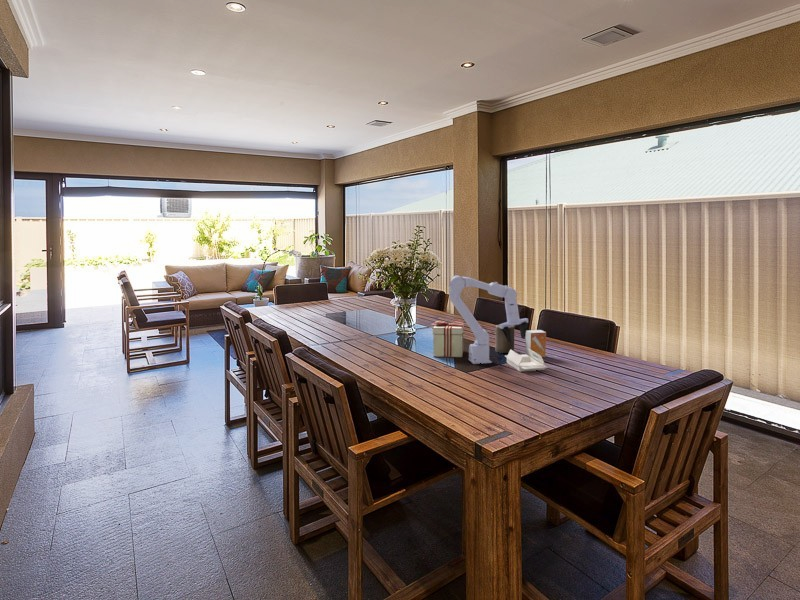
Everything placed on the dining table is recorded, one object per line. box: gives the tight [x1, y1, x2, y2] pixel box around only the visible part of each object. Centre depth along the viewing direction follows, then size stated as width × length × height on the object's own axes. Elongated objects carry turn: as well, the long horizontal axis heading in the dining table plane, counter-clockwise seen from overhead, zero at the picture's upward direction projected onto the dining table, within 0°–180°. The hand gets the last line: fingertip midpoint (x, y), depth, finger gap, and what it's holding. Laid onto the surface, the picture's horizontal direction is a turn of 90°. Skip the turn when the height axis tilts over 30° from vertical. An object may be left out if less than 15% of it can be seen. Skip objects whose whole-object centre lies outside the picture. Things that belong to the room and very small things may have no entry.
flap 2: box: [528, 349, 545, 365], centre depth 220 cm, size 4×14×1 cm
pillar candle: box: [494, 324, 515, 354], centre depth 246 cm, size 10×10×15 cm
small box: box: [524, 329, 547, 358], centre depth 235 cm, size 8×6×13 cm
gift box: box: [430, 320, 465, 358], centre depth 244 cm, size 17×18×17 cm
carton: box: [504, 353, 549, 373], centre depth 219 cm, size 12×23×2 cm, turn 9°
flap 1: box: [506, 349, 523, 366], centre depth 218 cm, size 4×14×1 cm
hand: (516, 340), depth 226 cm, fingers open, 7 cm apart
